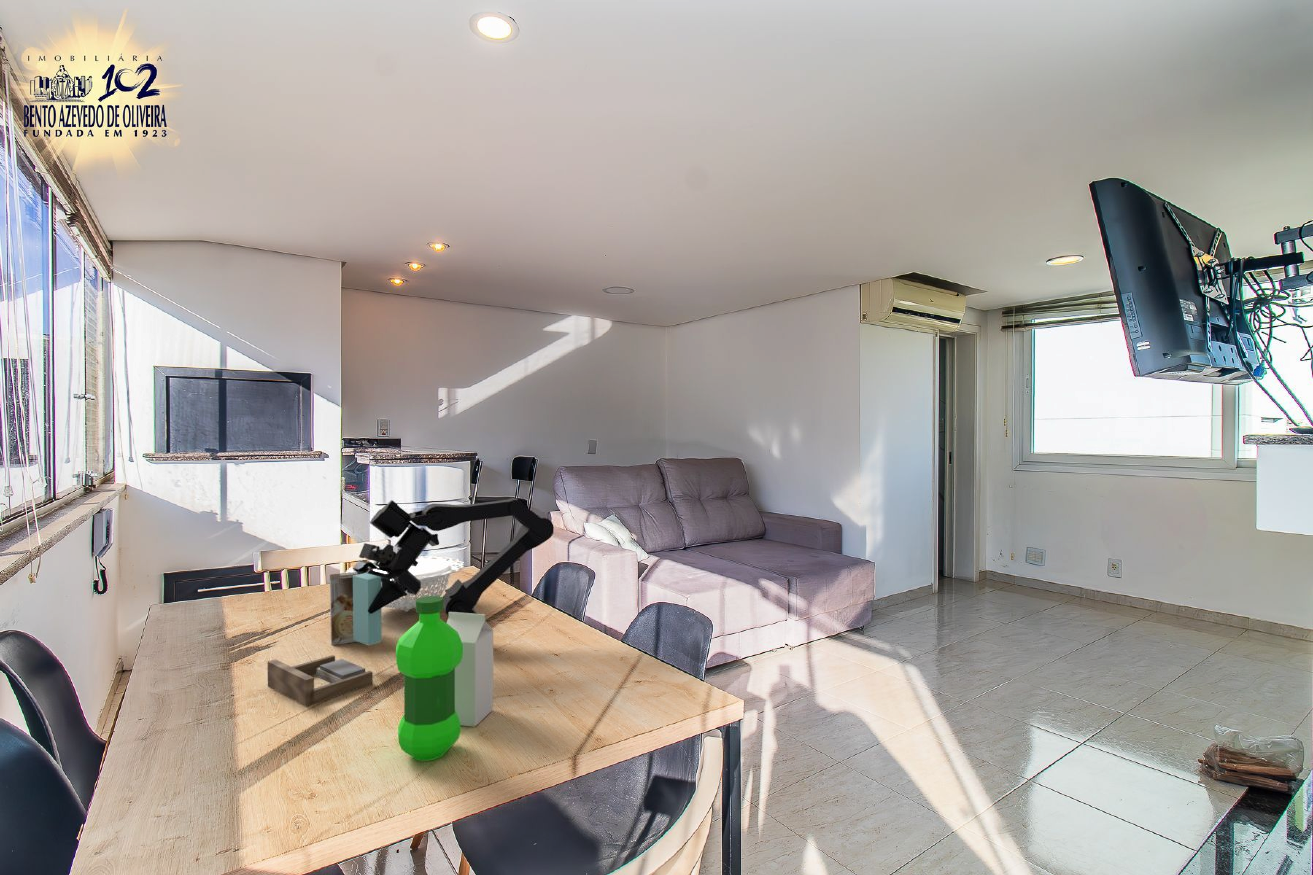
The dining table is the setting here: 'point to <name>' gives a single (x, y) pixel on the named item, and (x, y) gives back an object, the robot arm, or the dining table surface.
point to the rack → (311, 681)
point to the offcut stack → (338, 670)
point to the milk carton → (473, 668)
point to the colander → (426, 578)
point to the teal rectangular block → (366, 609)
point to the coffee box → (341, 608)
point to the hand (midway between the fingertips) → (361, 610)
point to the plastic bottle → (429, 683)
